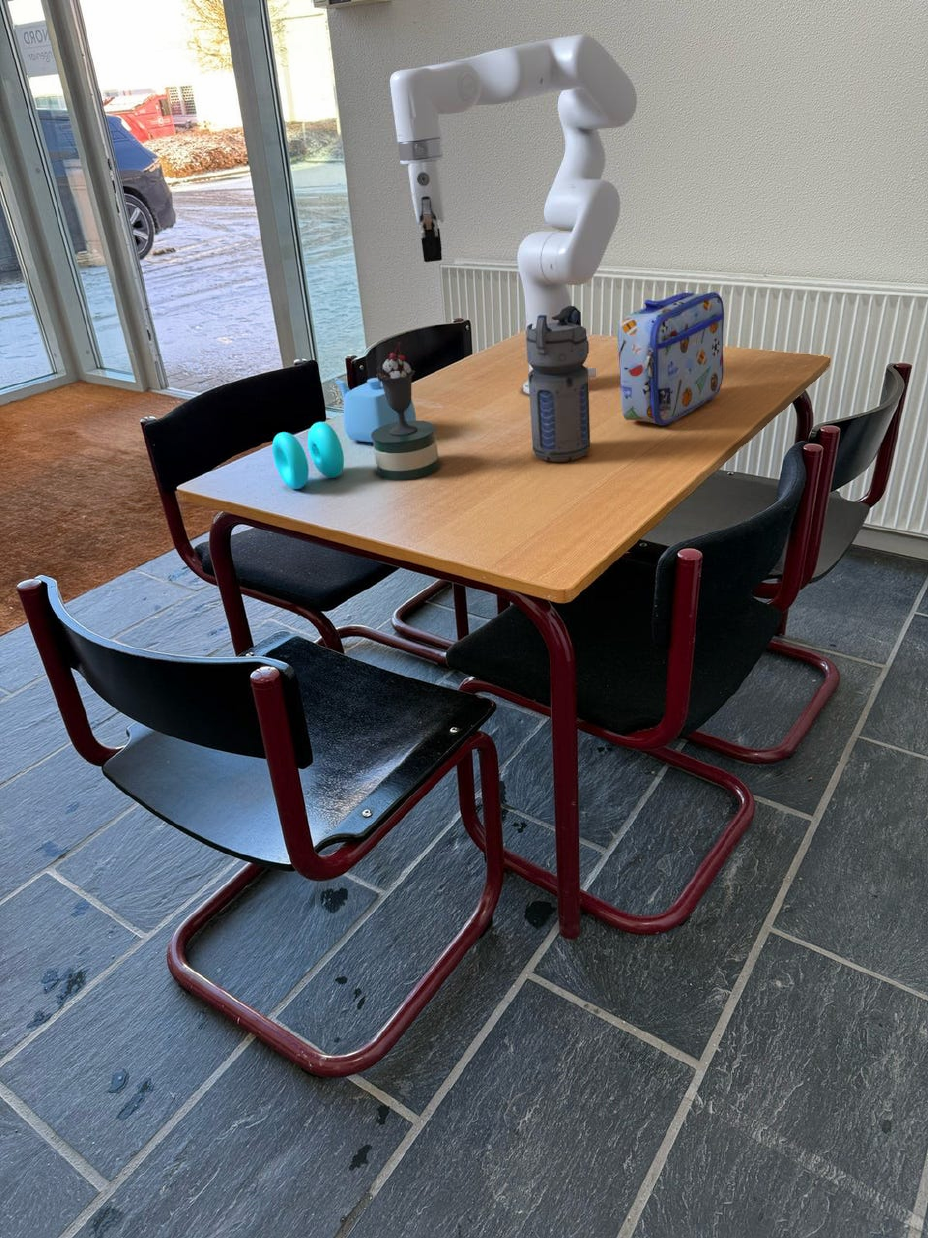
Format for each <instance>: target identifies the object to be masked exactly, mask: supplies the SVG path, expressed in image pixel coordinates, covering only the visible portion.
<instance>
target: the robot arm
mask: <svg viewBox="0 0 928 1238" xmlns="http://www.w3.org/2000/svg"><path fill="white" fill-rule="evenodd" d="M608 51H609V50H607V49H606V48H605V46H603V44H601V43H600V42H599V41H598V40H597V39H596V38H594V37H592V36H591V35H589V34H584V33H582V34H581V33H580V34H574V35H569V36H568V35H567V36H561V37H555V38H548V39H544V40H538V41H533V42H528V43H523V44H518V45H514V46H513V45H512V46H508V47H503V48H499V49H494V50H490V51H487V52H483V53H480V54H476V55H474V56H470V57H465V58H460V59H456V60H451V61H447V62H442V63H441V62H440V63H436V64H431V65H427V66H420V67H416V68H407V69H401V70H397V71H395V72H393V73H392V74H391V76H390V79H389V88H390V95H391V102H392V109H393V110H392V111H393V116H394V117H393V118H394V124H395V133H396V140H397V149H398V156H399V162H400V165H407V172H408V177H409V178H408V179H409V186H410V193H411V199H412V204H413V209H414V215H415V219H416V223H417V224H418V225H419V226H420V227H421V239H420V240H421V247H422V254H423V262H424V263H430V262H431V263H433V262H441V261H442V259H443V256H442V254H443V253H442V249H443V248H442V242H441V240H442V239H441V233H440V232H441V231H440V228H439V226H438V221H440V223H441V224H442V223H443V222H445V209H444V201H443V199H444V198H443V190H442V180H441V174H440V168H439V162H438V161H440V160H443V159H444V152H443V143H442V134H441V125H440V115H451V114H459V113H465V112H467V111H469V110H470V109H472V108H473V107H474V106H490V105H491V106H492V105H493V106H494V105H503V104H509V103H515V102H519V101H523V100H526V99H531V98H533V97H538V96H539V97H540V96H543V95H547V94H550V93H556V92H560V93H559V96H558V100H557V116H558V118H559V122H560V126H561V129H562V132H563V138H564V144H565V145H564V153H563V154H564V155H563V158H562V160H561V163H560V166H559V168H558V171H557V173H556V175H555V178H554V181H553V182H552V185H551V188H550V190H549V192H548V195H547V197H546V201H545V203H544V208H543V217H544V221H545V223H546V224H547V225H548V226H549V227H550V228H552V229H554V230H557V231H552V230H550V231H549V230H544V231H543V230H542V231H541V230H540V231H535V232H533V233H530V234H529V235H527V236H525V238H523V240H522V241H521V242H520V244H519V246H518V250H517V254H516V255H517V257H516V261H517V269H518V272H519V276H520V281H521V284H522V290H523V296H524V297H523V298H524V306H525V307H524V308H525V323H526V327H527V326H528V325H530V324H533V325H532V329H534V328H536V324H537V317H538V316H539V315H547V319H546V320H547V324H550V323H558V322H559V320H553V319H552V317H554V316H556V315H558V314H560V312H561V310H562V309H564V308H566V307H568V306H572V299H571V294H570V292H569V289H568V287H567V285H568V286H580V285H584V284H586V283H588V282H589V281H591V279H592V278H593V277H594V276H595V274H596V272H597V270H598V269H599V267H600V265H601V262H602V260H603V258H604V255H605V253H606V250H607V248H608V247H609V246H608V245H609V243H610V241H611V239H612V237H613V234H614V232H615V229H616V226H617V224H618V221H619V218H620V211H621V197H620V194H619V191H618V189H617V187H616V186H615V185H614V184H613V183H611V182H610V181H608V180H606V179H602V176H603V173H604V171H605V167H606V159H607V158H606V151H605V148H604V145H603V142H602V139H601V136H600V133H599V130H600V129H601V130H602V129H603V130H604V129H614V128H622V127H623V126H625V125H627V124H628V123H630V122H631V120H632V118H634V115H635V113H636V111H637V106H638V96H637V91H636V89H635V88H636V87H635V85H634V83H633V82H632V80H631V78H630V77H629V76H628V74H627V73H626V72H625V71H624V69H623V68H622V67H621V66H620V64H618V62H617V61H616V60H615V58H614V57H613V56H612V55H611V54H610V53H609V52H608ZM585 367H586V368H587V369H588V379H590V378H596V377H597V368H596V367H589V366H585ZM531 370H533V368H532V367H531V365H530V364H529V363H528V374H529V373H530V372H531ZM522 389H523V390H522V391H523V392H524V393H525V394H526V395H529V380H526V382H524V383H523V385H522Z"/></svg>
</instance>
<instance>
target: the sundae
mask: <svg viewBox="0 0 928 1238" xmlns="http://www.w3.org/2000/svg"><path fill="white" fill-rule="evenodd" d="M402 343H403V342H402V341H398V342H397V346H396V348H395V349H394V352H391V353H390V354H389V356H388V358H385V361H384V362H383V364H382V366H381V365H379V366H377V368H376V371H377V372H378V373H377V374H376V375H375V378H377V379H378V380H379V381H381V382H382V385H383V389H384V392H385V396H386V399H387V402H388V405H389V407H390V408H391V409H393V410H394V411H396V412H397V413H398V418H399V423H398V426H397V427H395V428H392V429H391V430H390V434H392V435H398V436H400V435H408V434H411V433H414V432H415V431H417V427H416V426H412V425H408V424H407V423H406V420H405V415H404V412H405V410H406V409H407V408H408V407H409V405H410V404H411V399H412V396H413V395H412V378H413V377H412V376H413V375H414V374H415V373H416V371H415V370H413V369H411V366H410V364H408V363H407V362H406V361H405V356H404V355H403V354H402V351H401V345H402ZM397 350H399V354H398V355H397V354H396V352H397Z"/></svg>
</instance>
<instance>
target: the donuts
mask: <svg viewBox="0 0 928 1238" xmlns="http://www.w3.org/2000/svg"><path fill="white" fill-rule="evenodd" d="M307 434H308V435H307V447H308V452H309V455H310V458H311V460H312V462H313V465H314V466H315V468H316V469H317V470H318V471H319V473H320V474H322V475H323V476H324V477H327V478H330V479H334V478H337V477H339V476H340V475H341V474H342V473H343V470H344V467H345V455H344V451H343V446H342V443H341V441H340V439H339V436H338V435H337V432H336V431H335V429H334V428H333V427H332V426H331V425H330V424H329V423H327V422H324V421H318V422H317V421H316V422H315V423H313V425H311V427H310V428H309V431H308V433H307ZM272 456H273V461H274V464H275V468H276V470H277V472H278V474H279V476H280V478H281V480H282V482H284V484H285V485H286V486H287V487H289V488H291V489H293V490H299V489H302V488H303V487H305V485H306V484H307V482H308V479H309V474H310V473H309V472H310V469H309V462H308V458H307V455H306V452H305V450H304V447H303V445H302V444H301V442H300V441H299V440H298V439H297V437H296V436H294V435H293V434H292V433H290V432H288V431H287V432H286V431H282V432H279V433H277V434H276V435H275V436H274V438H273V441H272Z"/></svg>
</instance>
